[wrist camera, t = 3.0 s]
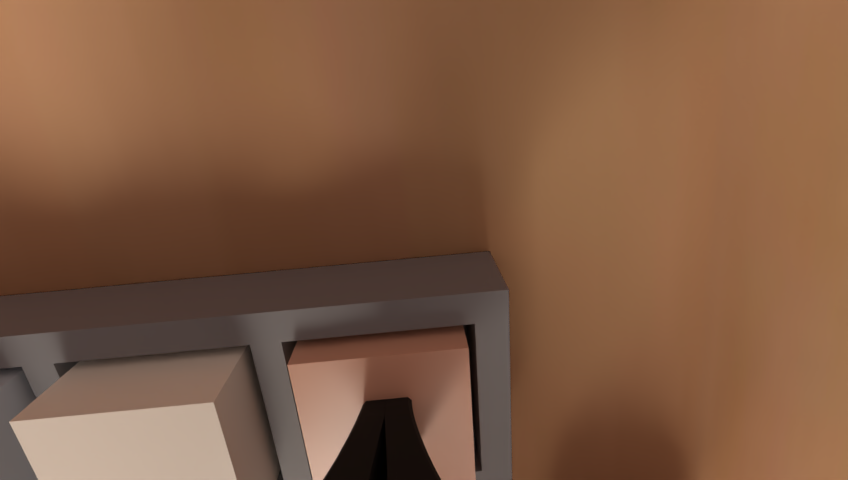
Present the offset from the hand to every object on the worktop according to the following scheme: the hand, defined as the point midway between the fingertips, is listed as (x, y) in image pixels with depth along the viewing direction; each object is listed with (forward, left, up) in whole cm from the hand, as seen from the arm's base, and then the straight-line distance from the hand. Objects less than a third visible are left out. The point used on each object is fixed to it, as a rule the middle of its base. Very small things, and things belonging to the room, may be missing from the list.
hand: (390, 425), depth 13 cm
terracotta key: (0, 0, -3) cm, 3 cm away
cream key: (-6, -3, -1) cm, 7 cm away
